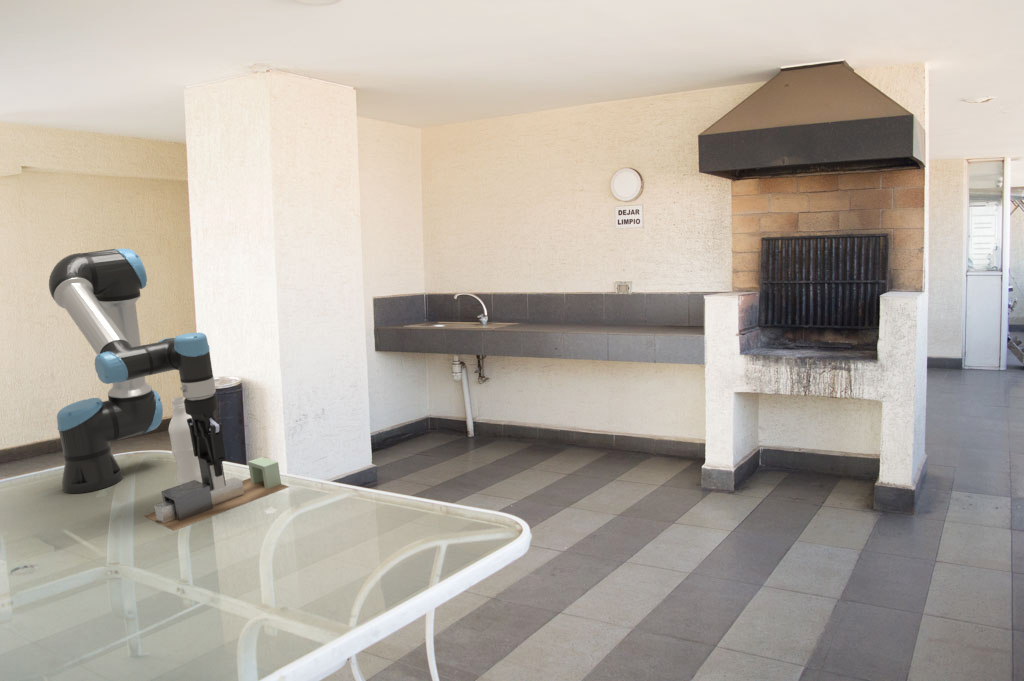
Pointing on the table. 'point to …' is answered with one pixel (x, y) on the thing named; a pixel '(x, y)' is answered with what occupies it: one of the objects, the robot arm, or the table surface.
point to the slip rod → (231, 490)
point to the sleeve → (189, 499)
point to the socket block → (264, 472)
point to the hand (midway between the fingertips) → (214, 485)
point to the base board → (224, 504)
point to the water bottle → (183, 444)
